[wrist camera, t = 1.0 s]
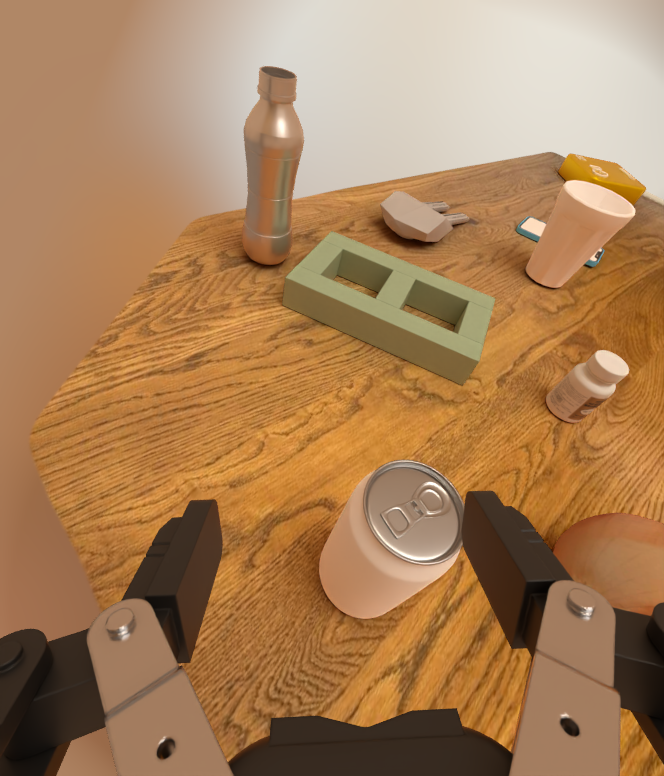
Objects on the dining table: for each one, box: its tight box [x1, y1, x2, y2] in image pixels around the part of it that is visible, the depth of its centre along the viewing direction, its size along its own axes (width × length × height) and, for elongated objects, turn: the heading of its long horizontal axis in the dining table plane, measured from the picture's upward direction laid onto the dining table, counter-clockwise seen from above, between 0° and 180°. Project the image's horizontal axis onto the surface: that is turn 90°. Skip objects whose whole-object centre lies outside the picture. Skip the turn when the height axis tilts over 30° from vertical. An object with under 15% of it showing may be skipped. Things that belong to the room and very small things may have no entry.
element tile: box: [558, 154, 646, 206], centre depth 95 cm, size 15×15×5 cm
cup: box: [525, 180, 635, 288], centre depth 58 cm, size 10×10×13 cm
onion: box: [553, 513, 664, 616], centre depth 27 cm, size 10×10×10 cm
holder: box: [282, 231, 495, 385], centre depth 48 cm, size 13×23×4 cm, turn 66°
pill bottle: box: [546, 350, 629, 423], centre depth 42 cm, size 4×4×8 cm
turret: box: [380, 191, 469, 242], centre depth 65 cm, size 10×20×5 cm, turn 135°
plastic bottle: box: [242, 66, 304, 265], centre depth 45 cm, size 6×7×20 cm
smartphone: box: [516, 216, 604, 267], centre depth 72 cm, size 8×1×15 cm
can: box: [319, 460, 464, 619], centre depth 25 cm, size 6×6×12 cm
